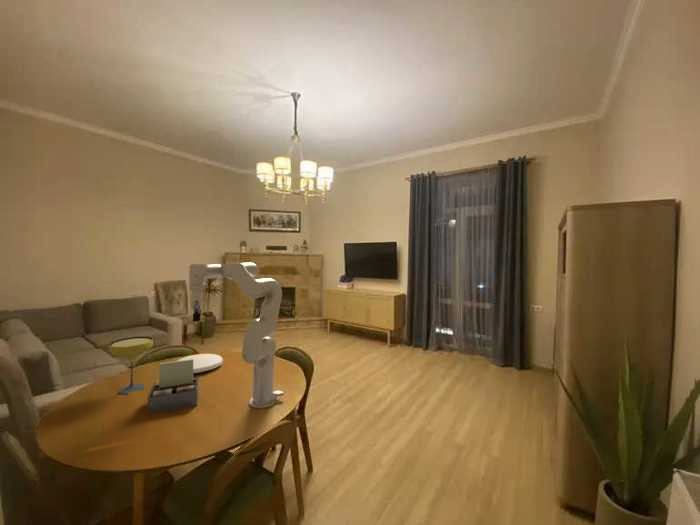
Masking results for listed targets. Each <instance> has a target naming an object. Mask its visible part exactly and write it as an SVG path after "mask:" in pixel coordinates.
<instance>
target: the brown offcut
mask: <svg viewBox="0 0 700 525" xmlns="http://www.w3.org/2000/svg"><path fill="white" fill-rule="evenodd" d="M168 394H172V388H170V389H164V390H157V391H154V392H153V397H156V396H162V395H168Z"/></svg>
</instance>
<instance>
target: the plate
mask: <svg viewBox="0 0 700 525" xmlns="http://www.w3.org/2000/svg"><path fill="white" fill-rule="evenodd" d="M189 359H193V374H199V373H202V372H207V371H210V370H213V369H216V368H218V367H220V366H221V365H223V362H224V359H223V357H222V356H220V355H218V354H214V353H202V354H201V353H198V354H194V355H189V356H185V357H182V358H179V359H177V361H181V360H189Z"/></svg>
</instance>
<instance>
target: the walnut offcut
mask: <svg viewBox="0 0 700 525" xmlns="http://www.w3.org/2000/svg"><path fill="white" fill-rule="evenodd" d="M193 390H194V385H190V386H183V387H177V390H176V393H181V392H187V391H193Z"/></svg>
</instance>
